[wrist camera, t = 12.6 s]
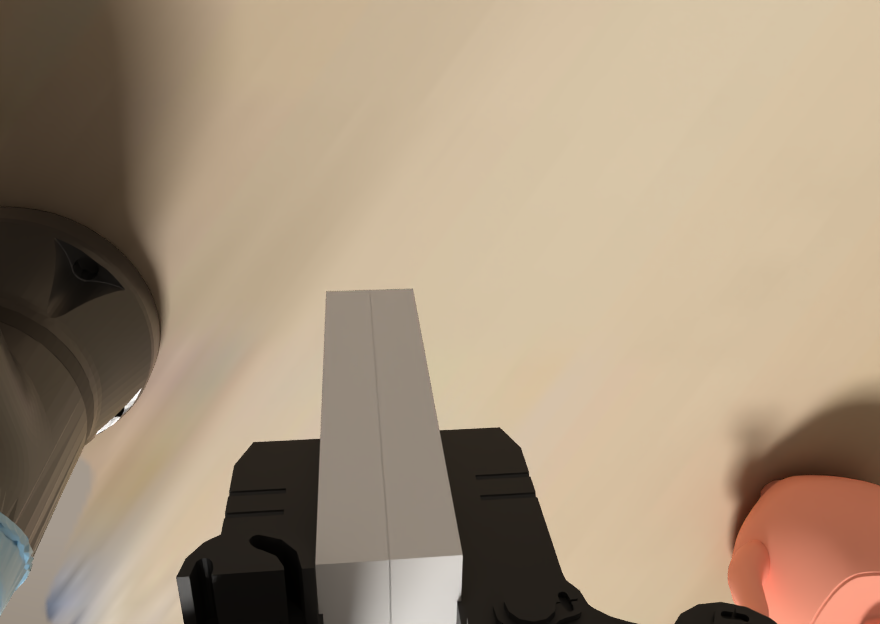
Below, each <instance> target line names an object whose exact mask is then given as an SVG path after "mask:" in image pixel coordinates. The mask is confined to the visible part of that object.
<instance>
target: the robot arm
mask: <svg viewBox="0 0 880 624" xmlns="http://www.w3.org/2000/svg"><path fill="white" fill-rule="evenodd" d="M159 344H160V326H159V318H158V313H157V309H156V306H155V303H154V300H153V298H152V295H151V293H150V291H149V289H148V287H147V285H146V283H145V281H144V280H143V278H142V277H141V275H140V274H139V272H138V271H137V270H136V268H135V267H134V266H133V264H132V263H131V262H130V261H129V260H128V259H127V258H126V257H125V256H124V255H123V254H122V253H121V252H120V251H119V250H118V249H117V248H116V247H115V246H113V245H112V244H111V243H110V242H108V241H107V240H106V239H104V238H103V237H101V236H100V235H98V234H97V233H95V232H94V231H92V230H90V229H88V228H87V227H85V226H83V225H81V224H79V223H77V222H74V221H72V220H70V219H67V218H64V217H61V216H59V215H55V214H52V213H48V212H44V211H39V210H34V209H27V208H16V207H1V208H0V616H1V614H2V612H3V610H4V609H5V607H6V605H7V603H8V602H9V600H10V598H11V596H12V595H13V593H14V591H16V589H17V588H18V587H19V586H20V585H21V584H22V583H23V582H24V581H25V580H26V579H27V577H28V575H29V573H30V571H31V567H32V560H33V559H34V558H33V556H34V554H35V552H36V550H37V547H38V545H39V543H40V541H41V539H42V536H43V534H44V532H45V530H46V528H47V525H48V523H49V521H50V519H51V517H52V515H53V512H54V510H55V508H56V506H57V504H58V501H59V499H60V497H61V495H62V493H63V490H64V488H65V486H66V484H67V482H68V480H69V477H70V475H71V473H72V471H73V469H74V467H75V465H76V463H77V461H78V458H79V456H80V454H81V452H82V449H83V447H84V446H85V445H86V444H87V443H89V442H90V441H91V440H92V439H93V438H94V437H95V435H97V434H99V433H101V432H102V431H104V430H106V429H107V428H109V427H110V426H111V425H113V424H114V423H116V422H117V421H118V420H119V419H120V418H122V417H123V416H124V415H125V414H126V413H127V412H128V411H129V410H130V409H131V407H132V406H133V405H134V404H135V402H136V401H137V400H138V398H139V397H140V395H141V394H142V392H143V390H144V388H145V386H146V384H147V382H148V380H149V377H150V375H151V372H152V370H153V368H154V365H155V362H156V359H157V355H158V351H159ZM176 579H177V585H178V591H179V596H180V602H181V608H182V614H183V620H184V624H637V623H632V622H628V621H624V620H621V619H617V618H614V617H611V616H608V615H606V614H604V613H602V612H600V611H598V610H596V609H594V608H593V607H591V606H590V605H589V604H588V603H587V602H586V600H585V598H584V597H583V595H582V594H581V592H580V591H579V590H578V589H577V588H575V587H574V586H573V585H572V584H570V583H569V582H568V581H566V579H565V577H564V575H563V573H562V571H561V568H560V565H559V562H558V559H557V556H556V553H555V550H554V547H553V544H552V541H551V538H550V535H549V531H548V528H547V525H546V522H545V519H544V516H543V513H542V510H541V507H540V504H539V501H538V498H537V497H536V495H535V489H534V486H533V483H532V480H531V477H529V471H528V468H527V465H526V462H525V459H524V456H523V453H522V450H521V447H519V446H518V445H517V444H516V443H515V442H514V441H513V440H512V439H511V438H510V437H509V436H508V435H507V434H506V433H505V432H504V431H503V430H502V429H501V428H500V427H499V428H479V429H459V430H440V431H439V425H438V420H437V415H436V409H435V404H434V399H433V393H432V388H431V383H430V377H429V372H428V367H427V361H426V356H425V350H424V345H423V340H422V334H421V329H420V324H419V318H418V313H417V308H416V302H415V297H414V292H413V289H386V290H355V291H326V309H325V334H324V359H323V384H322V410H321V435H320V439H309V440H289V441H269V442H253V444H252V445H251V446H250V447H249V448H248V450H247V451H246V452H245V453H244V454H243V456H242V457H241V458H240V459H239V460H238V462H237V463H236V464H235V465H234V470H233V475H232V480H231V485H230V490H229V497H228V501H227V506H226V511H225V518H224V522H223V527H222V532H221V535H219V536H217V537H215V538H212V539H210V540H208V541H206V542H204V543H203V544H202V545H201V546H199V547H198V548H197V549H196V550H195V551H194V552H193V553H191V554H190V555H189V556H188V557H187V558H186V559H185V561H184V563H183V565H182V567H181V569H180V571H179V573H178V575H177V577H176ZM675 624H777V623H776V622H775V621H774V620H772V619H771V618H769V617H767V616H765V615H763V614H761V613H758V612H756V611H754V610H752V609H750V608H748V607H745V606H739V605H734V604H729V603H723V602H717V603H707V604H698V605H696V606H694V607H693V608H691V609H689V610H687V611H685V612H683V613H681V614H680V616H679V617H678V619H677V621H676V622H675Z"/></svg>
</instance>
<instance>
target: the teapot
mask: <svg viewBox="0 0 880 624" xmlns="http://www.w3.org/2000/svg"><path fill="white" fill-rule="evenodd" d="M760 497H761V498H760V499H759V500H758V502H757V503H756V504H755V506H754V507H753V508H752V510H751V511H750V513H749V514H748V516H747V518H746V519H745V521H744V523H743V525H742V527H741V529H740V531H739V533H738V536H737V539H736V542H735V546H734V551H733V555H732V560H731V562H730V565H729V568H728V584H729V587H730V590H731V594H732V597H733V601H734V603H735V604H736V605H739V606H745V607H748V608H750V609H752V610H754V611H756V612H758V613H761V614H763V615H765V616H767V617H769V618H771V619H772V620H774V621H775V622H776V623H777V624H880V485H876V484H873V483H869V482H866V481H861V480H856V479H850V478H845V477H837V476H825V475H800V476H792V477H788V478H785V479H782V480H775V481H772V482H770V483H768V484H767V485H765V486H764V488H763V489H762V491H761V493H760Z"/></svg>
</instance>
